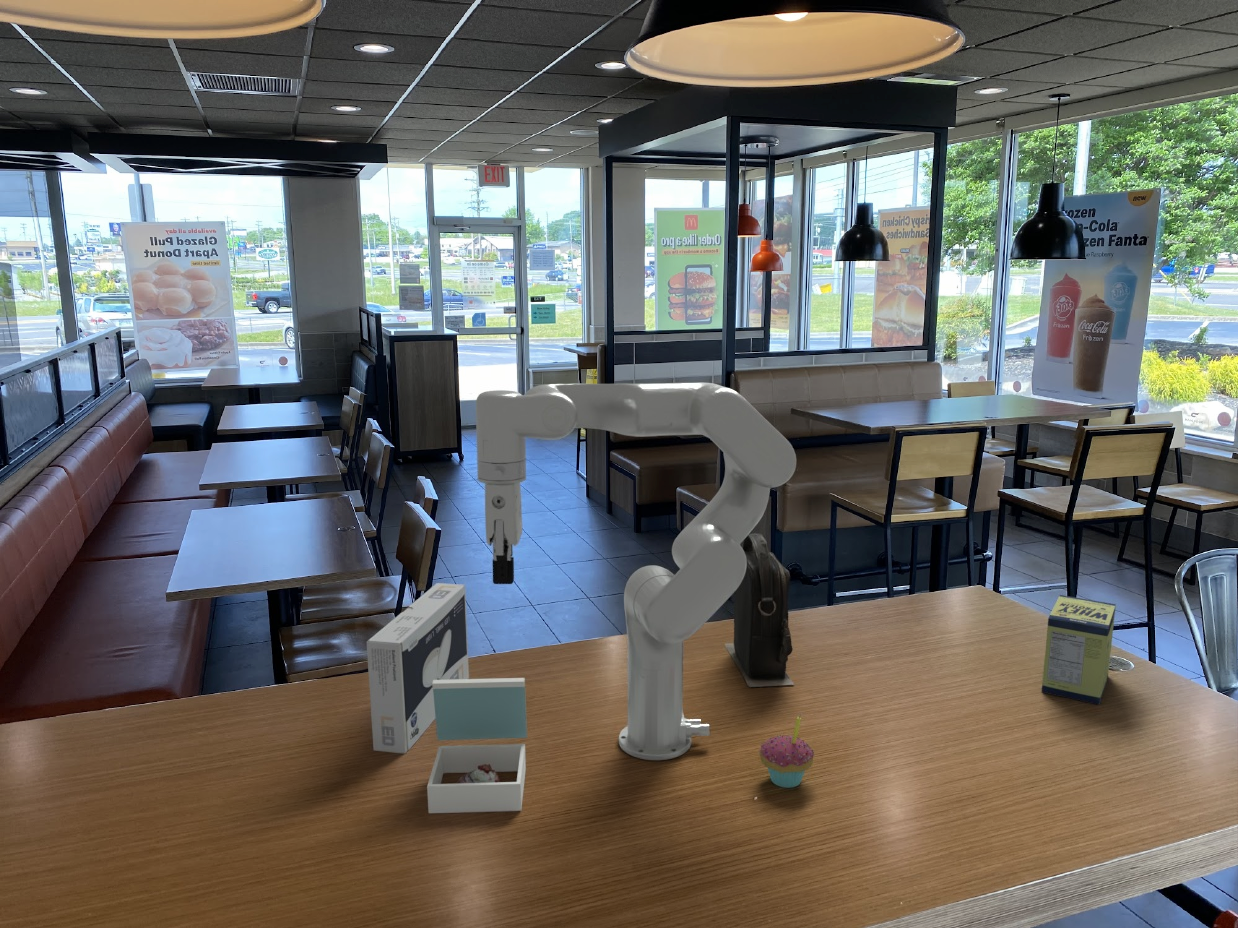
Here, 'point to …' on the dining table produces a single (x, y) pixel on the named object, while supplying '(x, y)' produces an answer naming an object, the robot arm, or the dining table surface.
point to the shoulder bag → (762, 617)
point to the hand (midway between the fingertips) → (503, 582)
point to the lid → (480, 708)
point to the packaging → (415, 665)
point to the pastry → (480, 775)
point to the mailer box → (477, 794)
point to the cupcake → (786, 758)
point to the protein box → (1078, 649)
